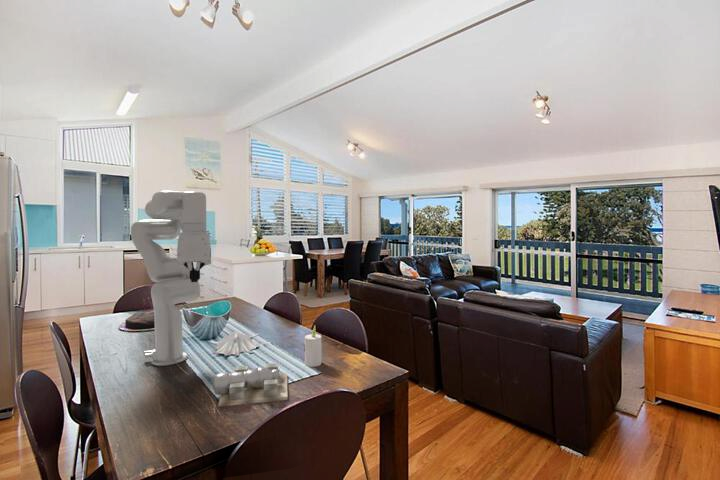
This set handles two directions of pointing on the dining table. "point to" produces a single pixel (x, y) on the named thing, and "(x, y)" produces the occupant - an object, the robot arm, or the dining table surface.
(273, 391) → the cradle
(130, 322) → the chocolate cake
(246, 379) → the plastic bottle
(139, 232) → the robot arm
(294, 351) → the dining table surface
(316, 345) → the candle
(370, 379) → the dining table surface
